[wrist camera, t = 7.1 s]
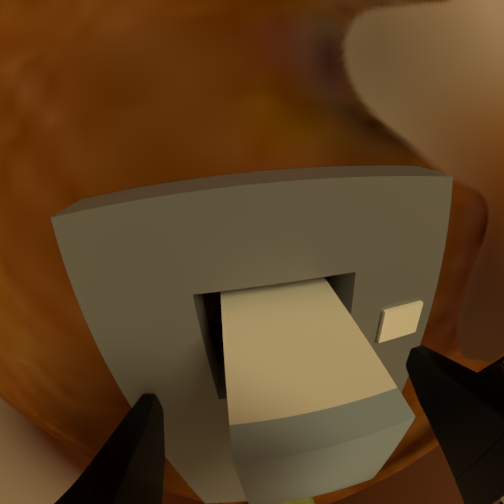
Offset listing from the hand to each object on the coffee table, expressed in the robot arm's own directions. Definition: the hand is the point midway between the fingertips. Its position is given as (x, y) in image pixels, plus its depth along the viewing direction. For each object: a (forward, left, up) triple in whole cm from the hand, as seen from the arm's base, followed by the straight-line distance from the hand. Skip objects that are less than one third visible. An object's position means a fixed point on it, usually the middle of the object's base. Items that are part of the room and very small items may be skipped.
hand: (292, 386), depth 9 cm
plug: (0, 0, -4) cm, 4 cm away
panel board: (0, +7, -4) cm, 8 cm away
